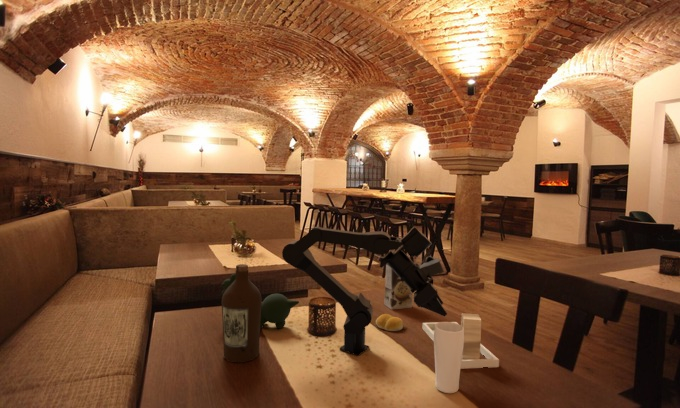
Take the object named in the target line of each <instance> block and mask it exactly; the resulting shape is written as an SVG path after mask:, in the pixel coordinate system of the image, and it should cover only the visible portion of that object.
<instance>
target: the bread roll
mask: <svg viewBox="0 0 680 408" xmlns="http://www.w3.org/2000/svg"><path fill="white" fill-rule="evenodd" d="M375 325H376V326H377V327H378V328H379V329H381V330H385V331H388V332H397V331H402V330H403V328H404V321H403V320H402V319H401V318H400V317H397V316H393V315H392V314H389V313H383V314H380V316H378V317H377V318H376V319H375Z"/></svg>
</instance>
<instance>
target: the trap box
mask: <svg viewBox="0 0 680 408" xmlns="http://www.w3.org/2000/svg"><path fill="white" fill-rule="evenodd" d="M439 322H440V321H439ZM439 322H422V330H423V331H424V333H426V335H427V336H428V337H429V338H430V339H431V340H432V342H434V330H435V324H437V323H439ZM451 322H452V323H456V324H459V323H458V322H457V321H451ZM480 355H482V356H483V355H484V356H485V357H484V356H483V357H484V358H480V359H469V360H462V361H461V369H460V370H463V369H481V368H482V369H484V368H483V367H488V368H500V359H499V358H498V357H496V355H494V354H493V352H491V351H490V350H489V349H488V348H487V347H485V346H484V345H483V344H482V343H481V342H480Z"/></svg>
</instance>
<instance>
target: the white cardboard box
mask: <svg viewBox="0 0 680 408" xmlns="http://www.w3.org/2000/svg"><path fill="white" fill-rule="evenodd" d="M383 302H384V306H386V307H387V308H389V309H390V310H399V309H411V308H413V293H412V292H411V291H410V288H409V287H408V286H407V285H406V284H405V283H404V281H403V282H402V281H401V280H400V277H399V276H398V275H397V274H396V273H395V272H394V271H393V270H392V269H391V268H390V267H389V265H388V264H385V284H384V301H383Z"/></svg>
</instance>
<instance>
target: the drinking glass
mask: <svg viewBox="0 0 680 408" xmlns="http://www.w3.org/2000/svg"><path fill="white" fill-rule="evenodd" d="M452 322H453V321H439V323H437V324H435V330H434V341H433V353H434V354H433V356H434V370H435V371H434V372H435V373H434V374H435V377H434V378H435V382H434V383H435V384H434V385H435V388H436V389H437V390H438V391H440V392H441V393H444V394H454V393H456V392H458V390H459V389H460V387H459V386H460V383H459V382H460V376H461V375H460V374H461V370H462V369H461V361H462V354H463V346H464V328H463V327H462V326H461V324H459V323H458V324H456V323H452Z"/></svg>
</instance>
